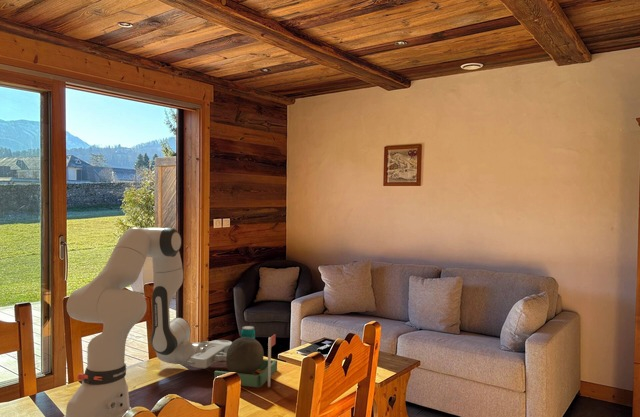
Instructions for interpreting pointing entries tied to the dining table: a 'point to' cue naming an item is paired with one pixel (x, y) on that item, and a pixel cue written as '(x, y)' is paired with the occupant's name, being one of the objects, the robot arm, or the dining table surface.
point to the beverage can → (248, 332)
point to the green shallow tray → (266, 365)
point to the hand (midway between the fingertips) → (228, 357)
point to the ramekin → (222, 342)
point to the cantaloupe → (244, 356)
